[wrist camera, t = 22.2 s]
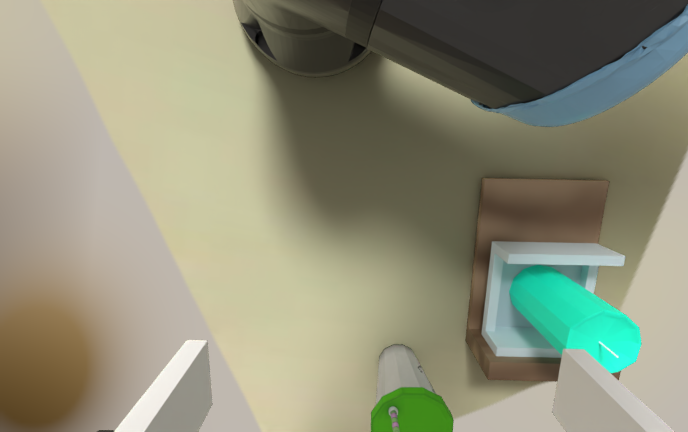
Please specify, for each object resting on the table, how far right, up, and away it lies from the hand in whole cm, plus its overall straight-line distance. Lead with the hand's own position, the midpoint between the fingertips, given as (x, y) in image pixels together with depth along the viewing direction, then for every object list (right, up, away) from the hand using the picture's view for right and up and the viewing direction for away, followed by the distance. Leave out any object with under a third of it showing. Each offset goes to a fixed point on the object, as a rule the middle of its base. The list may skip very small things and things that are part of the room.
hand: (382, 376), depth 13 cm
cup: (+5, -12, +30) cm, 33 cm away
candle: (+20, -2, +26) cm, 33 cm away
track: (+20, 0, +27) cm, 33 cm away
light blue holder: (+20, -2, +26) cm, 33 cm away
